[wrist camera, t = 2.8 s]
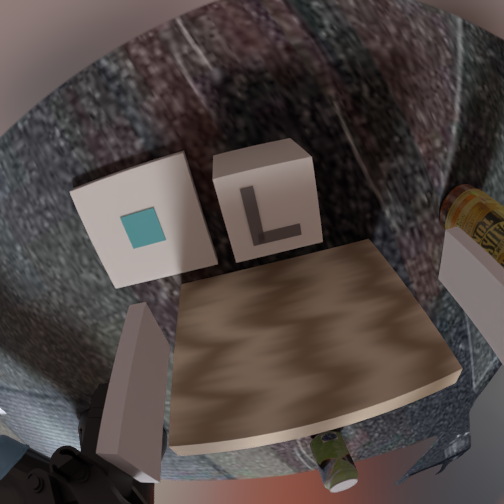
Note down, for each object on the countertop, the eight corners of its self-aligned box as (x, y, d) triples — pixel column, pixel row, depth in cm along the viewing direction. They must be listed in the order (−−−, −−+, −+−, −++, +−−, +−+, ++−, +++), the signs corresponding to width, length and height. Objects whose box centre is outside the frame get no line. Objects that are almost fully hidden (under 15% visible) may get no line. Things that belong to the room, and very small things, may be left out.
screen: (202, 330, 32) (204, 476, 19) (181, 284, 29) (168, 446, 15) (368, 289, 32) (438, 414, 18) (368, 238, 28) (462, 368, 15)
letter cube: (231, 223, 26) (236, 263, 21) (213, 155, 23) (212, 179, 18) (302, 206, 26) (324, 242, 21) (291, 137, 23) (313, 156, 18)
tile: (117, 283, 28) (115, 289, 27) (73, 188, 23) (69, 192, 22) (217, 259, 28) (218, 264, 27) (184, 150, 23) (183, 153, 22)
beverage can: (304, 444, 51) (317, 498, 41) (316, 426, 47) (332, 486, 37) (334, 440, 52) (349, 492, 42) (348, 422, 49) (366, 479, 38)
